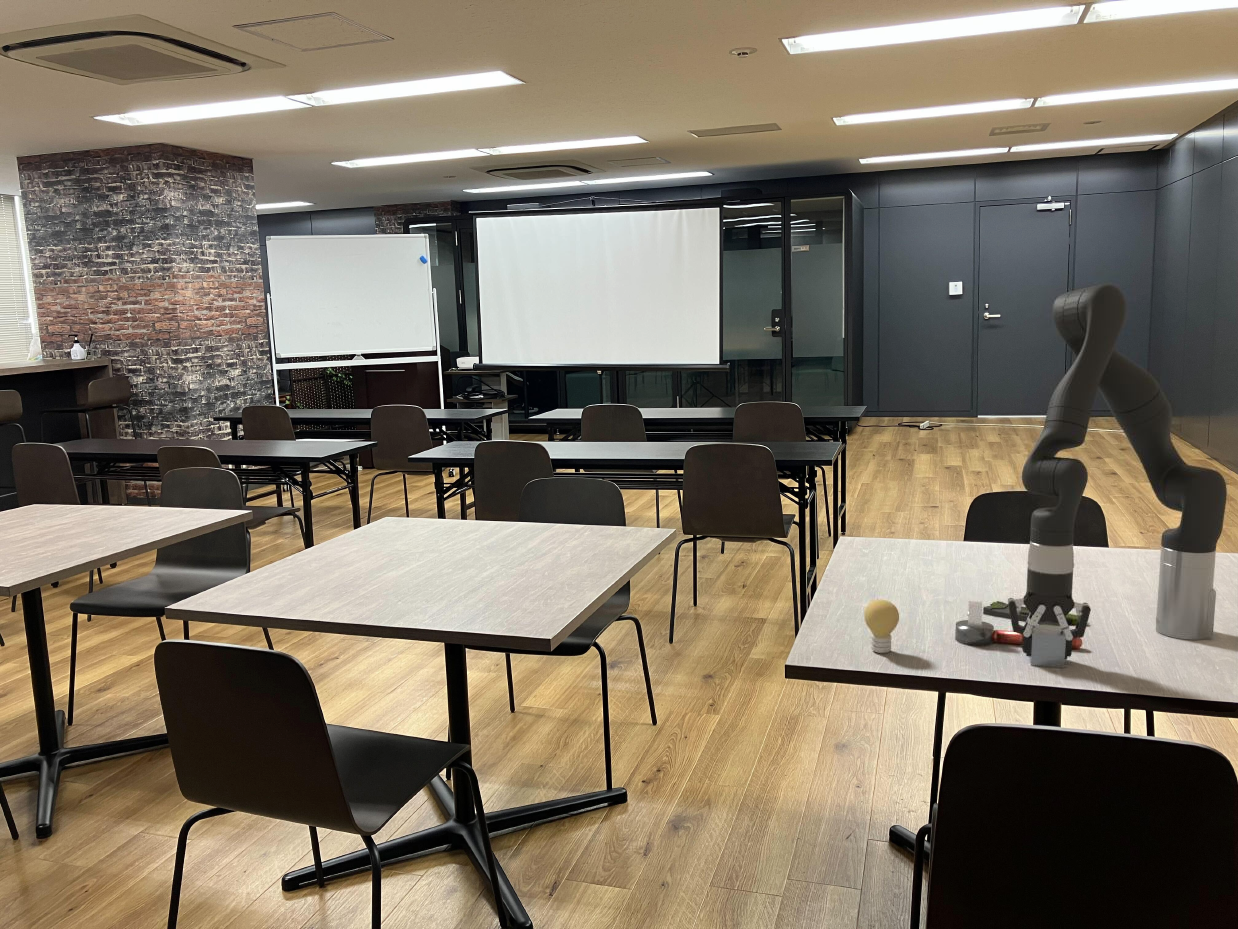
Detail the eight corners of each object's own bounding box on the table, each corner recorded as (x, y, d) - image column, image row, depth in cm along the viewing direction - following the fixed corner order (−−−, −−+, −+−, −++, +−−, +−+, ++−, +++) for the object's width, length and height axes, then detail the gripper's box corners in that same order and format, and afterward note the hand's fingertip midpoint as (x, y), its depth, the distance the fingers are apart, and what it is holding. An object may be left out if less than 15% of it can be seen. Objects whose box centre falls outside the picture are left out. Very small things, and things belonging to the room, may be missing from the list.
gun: (968, 625, 197) (993, 609, 208) (1066, 642, 185) (1087, 624, 196) (968, 613, 197) (993, 598, 208) (1066, 629, 184) (1087, 612, 196)
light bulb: (892, 645, 184) (893, 595, 183) (903, 656, 178) (904, 605, 177) (859, 646, 184) (860, 596, 183) (869, 657, 178) (870, 606, 176)
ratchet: (1079, 643, 183) (1081, 605, 182) (1084, 655, 177) (1086, 616, 175) (955, 633, 190) (956, 597, 189) (955, 644, 184) (956, 607, 183)
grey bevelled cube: (1060, 657, 175) (1062, 626, 175) (1064, 668, 170) (1065, 636, 169) (1028, 655, 177) (1029, 624, 176) (1030, 665, 172) (1032, 633, 171)
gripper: (1091, 563, 172) (1086, 653, 175) (1005, 559, 177) (1002, 646, 179) (1097, 574, 165) (1092, 667, 168) (1008, 569, 170) (1005, 660, 172)
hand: (1046, 656), depth 174 cm, fingers closed on grey bevelled cube, 5 cm apart
